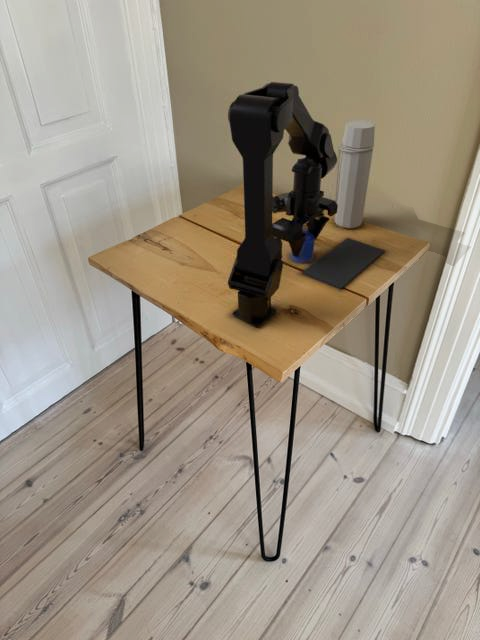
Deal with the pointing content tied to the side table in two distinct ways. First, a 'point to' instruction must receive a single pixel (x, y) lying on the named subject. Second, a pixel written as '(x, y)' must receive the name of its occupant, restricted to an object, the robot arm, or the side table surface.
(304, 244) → the flask
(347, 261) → the mat
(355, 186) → the water bottle
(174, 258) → the side table surface
